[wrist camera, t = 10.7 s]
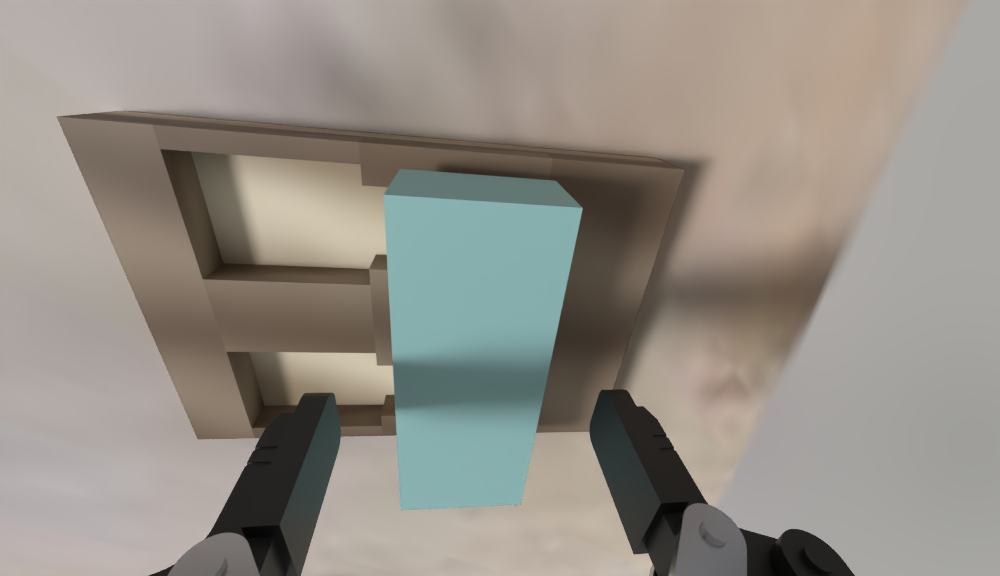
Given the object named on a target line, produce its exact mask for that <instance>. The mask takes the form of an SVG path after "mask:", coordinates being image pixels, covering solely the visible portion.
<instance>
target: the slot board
mask: <svg viewBox="0 0 1000 576" xmlns="http://www.w3.org/2000/svg"><path fill="white" fill-rule="evenodd" d="M57 118H58V121H59V123H60V125H61V128H62V130H63V132H64V134H65V137H66V139H67V141H68V144H69V146H70V148H71V150H72V153H73V155H74V157H75V160H76V162H77V164H78V166H79V169H80V171H81V173H82V176H83V178H84V180H85V182H86V185H87V187H88V189H89V192H90V194H91V196H92V198H93V201H94V203H95V205H96V208H97V210H98V212H99V214H100V217H101V219H102V221H103V224H104V226H105V228H106V230H107V233H108V235H109V237H110V240H111V242H112V244H113V246H114V249H115V251H116V253H117V256H118V258H119V260H120V262H121V265H122V267H123V269H124V272H125V274H126V276H127V279H128V281H129V283H130V285H131V288H132V290H133V292H134V295H135V297H136V299H137V301H138V304H139V306H140V308H141V311H142V313H143V315H144V317H145V320H146V322H147V324H148V327H149V329H150V331H151V333H152V336H153V338H154V340H155V343H156V345H157V347H158V349H159V352H160V354H161V356H162V359H163V361H164V363H165V365H166V368H167V370H168V372H169V375H170V377H171V379H172V381H173V384H174V386H175V388H176V391H177V393H178V395H179V397H180V400H181V402H182V404H183V407H184V409H185V411H186V413H187V416H188V418H189V420H190V423H191V425H192V427H193V429H194V432H195V434H196V436H197V439H235V438H260V437H261V435H262V434H263V432H264V430H265V428H266V427H267V426H268V425H269V424H270V423H271V422H273V421H274V420H275V419H276V418H277V417H278V416H279V415H280V414H281V413H294V412H295V409H296V407H297V405H298V403H299V401H300V399H301V397H302V395H303V394H304V393H332V392H333V393H334V395H335V399H336V405H337V411H338V416H339V422H340V429H341V436H388V435H397V433H396V414H395V396H394V378H393V360H392V341H391V323H390V305H389V287H388V268H387V250H386V232H385V213H384V193H385V192H386V190H387V188H388V187H389V185H390V184H391V182H392V180H393V179H394V177H395V176H396V174H397V173H398V171H399V169H409V170H422V171H435V172H448V173H461V174H474V175H488V176H501V177H514V178H527V179H540V180H553V181H557V182H558V183H559V185H560V186H561V187H562V188H563V189H564V190H565V191H566V192H567V193H568V194H569V195H570V196H571V197H572V198H573V199H574V200H575V201H576V202H577V203H578V204H579V205H580V206H581V207H582V208H583V210H582V214H581V219H580V224H579V229H578V233H577V238H576V243H575V248H574V253H573V257H572V262H571V267H570V272H569V276H568V281H567V286H566V291H565V296H564V300H563V305H562V310H561V315H560V320H559V324H558V329H557V334H556V339H555V343H554V348H553V353H552V358H551V363H550V367H549V372H548V377H547V382H546V386H545V391H544V396H543V401H542V406H541V410H540V415H539V420H538V425H537V429H536V433H540V432H590V429H589V428H590V421H591V418H592V414H593V411H594V408H595V405H596V402H597V398H598V395H599V393H600V391H601V390H613V387H614V384H615V381H616V378H617V375H618V372H619V369H620V366H621V363H622V360H623V357H624V354H625V351H626V348H627V345H628V342H629V339H630V336H631V332H632V329H633V326H634V323H635V320H636V317H637V314H638V311H639V308H640V305H641V302H642V299H643V296H644V293H645V290H646V287H647V284H648V281H649V278H650V275H651V271H652V268H653V265H654V262H655V259H656V256H657V253H658V250H659V247H660V244H661V241H662V238H663V235H664V232H665V229H666V226H667V223H668V220H669V217H670V213H671V210H672V207H673V204H674V201H675V198H676V195H677V192H678V189H679V186H680V183H681V180H682V177H683V174H684V171H685V170H684V169H681V168H679V167H676V166H674V165H671V164H669V163H666V162H664V161H661V160H658V159H656V158H649V157H638V156H627V155H616V154H604V153H593V152H582V151H570V150H559V149H548V148H536V147H525V146H514V145H502V144H491V143H480V142H468V141H457V140H446V139H434V138H423V137H412V136H400V135H389V134H378V133H367V132H355V131H344V130H333V129H321V128H310V127H299V126H287V125H276V124H265V123H253V122H242V121H231V120H219V119H208V118H197V117H185V116H174V115H163V114H152V113H140V112H129V111H113V112H103V113H92V114H81V115H70V116H59V117H57Z"/></svg>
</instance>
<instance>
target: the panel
mask: <svg viewBox="0 0 1000 576" xmlns="http://www.w3.org/2000/svg"><path fill="white" fill-rule="evenodd" d="M582 210H583V208H582V207H581V206H580V205H579V204H578V203H577V202H576V201H575V200H574V199H573V198H572V197H571V196H570V195H569V194H568V193H567V192H566V191H565V190H564V189H563V188H562V187H561V186H560V185H559V183H558V182H557V181H553V180H540V179H527V178H514V177H501V176H488V175H474V174H461V173H448V172H435V171H422V170H409V169H399V171H398V173H397V174H396V176H395V177H394V179H393V180H392V182H391V184H390V185H389V187H388V188H387V190H386V192H385V193H384V213H385V232H386V250H387V268H388V287H389V305H390V323H391V341H392V360H393V378H394V396H395V414H396V433H397V451H398V469H399V487H400V506H401V510H417V509H439V508H460V507H482V506H503V505H521V501H522V496H523V492H524V487H525V482H526V477H527V472H528V468H529V463H530V458H531V453H532V449H533V444H534V439H535V434H536V429H537V425H538V420H539V415H540V410H541V406H542V401H543V396H544V391H545V386H546V382H547V377H548V372H549V367H550V363H551V358H552V353H553V348H554V343H555V339H556V334H557V329H558V324H559V320H560V315H561V310H562V305H563V300H564V296H565V291H566V286H567V281H568V276H569V272H570V267H571V262H572V257H573V253H574V248H575V243H576V238H577V233H578V229H579V224H580V219H581V214H582Z"/></svg>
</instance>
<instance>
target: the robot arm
mask: <svg viewBox="0 0 1000 576" xmlns="http://www.w3.org/2000/svg"><path fill="white" fill-rule="evenodd" d="M589 429H590V438H591V442H592V445H593V448H594V450H595V453H596V456H597V458H598V461H599V464H600V466H601V469H602V471H603V474H604V477H605V479H606V482H607V485H608V487H609V490H610V493H611V495H612V498H613V501H614V503H615V506H616V508H617V511H618V514H619V516H620V519H621V522H622V524H623V527H624V530H625V532H626V535H627V537H628V540H629V543H630V545H631V548H632V551H633V553H634V554H644V553H649V556H650V558H651V561H652V563H653V565H652V567H651V570H650V574H649V576H855V575H854V574H853V573H852V571H851V570H850V569H849V568H848V566H847V565H846V563H845V562H844V561H843V560H842V559H841V557H840V556H839V555H838V554H837V553H836V552H835V551H834V550H833V549H832V548H831V547H830V546H829V545H828V544H826V543H825V542H824V541H822V540H821V539H819V538H818V537H816V536H814V535H812V534H810V533H808V532H805V531H803V530H799V529H789V530H787V531H785V532H784V533H783V534H782V535H781V536H780V537H779V539H775V538H772V537H768V536H765V535H761V534H758V533H754V532H751V531H747V530H743V529H741V528H738V527H737V525H736V524H735V523H734V522H733V521H732V519H731V518H729V517H728V516H727V515H726V514H725V513H723V512H722V511H720V510H719V509H717V508H715V507H713V506H711V505H708V503H707V502H706V500H705V499H704V497H703V496H702V494H701V492H700V491H699V489H698V487H697V486H696V484H695V482H694V481H693V479H692V477H691V475H690V474H689V472H688V470H687V469H686V467H685V465H684V464H683V462H682V460H681V459H680V457H679V455H678V454H677V452H676V451H674V447H673V445H672V443H671V442H670V440H669V438H667V437H666V433H665V432H664V430H663V428H662V427H661V425H660V423H659V422H658V420H657V419H656V418H655V417H654V416H653V415H652V414H651V413H650V412H649V411H648V410H647V409H646V408H644V407H643V406H639V407H637V406H636V405H635V403H634V401H633V399H632V397H631V396H630V394H629V392H628V391H627V390H601V391H600V393H599V395H598V398H597V402H596V405H595V408H594V411H593V414H592V418H591V421H590V428H589ZM340 436H341V429H340V422H339V416H338V411H337V405H336V399H335V395H334V393H333V392H332V393H304V394H303V395H302V397H301V399H300V401H299V403H298V405H297V407H296V409H295V412H294V413H281V414H280V415H279V416H278V417H277V418H276V419H275V420H274V421H273V422H271V423H270V424H269V425H268V426H267V427H266V428H265V430H264V432H263V434H262V435H261V437H260V439H259V441H258V443H257V445H256V447H255V451H253V453H252V455H251V456H250V458H249V460H248V462H247V466H245V468H244V470H243V472H242V474H241V475H240V477H239V479H238V481H237V483H236V485H235V487H234V489H233V491H232V493H231V494H230V496H229V498H228V500H227V502H226V504H225V506H224V508H223V510H222V512H221V513H220V515H219V517H218V519H217V521H216V523H215V525H214V527H213V528H212V530H211V532H210V533H209V534H208V536H207V537H206V538H205V540H203V541H201V542H199V543H198V544H196V545H195V546H193V547H192V548H191V549H190V550H188V551H187V552H186V553H185V554H184V555H183V556H182V557H181V558H180V559H179V560H178V561H177V562H176V564H174V565H172V566H171V567H169V568H167V569H164V570H162V571H160V572H157V573H155V574H152V575H149V576H301V573H302V569H303V566H304V563H305V559H306V556H307V553H308V549H309V546H310V543H311V539H312V536H313V533H314V529H315V526H316V523H317V519H318V516H319V513H320V509H321V506H322V503H323V500H324V496H325V493H326V490H327V486H328V483H329V480H330V476H331V473H332V470H333V466H334V463H335V460H336V456H337V453H338V449H339V445H340Z"/></svg>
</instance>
